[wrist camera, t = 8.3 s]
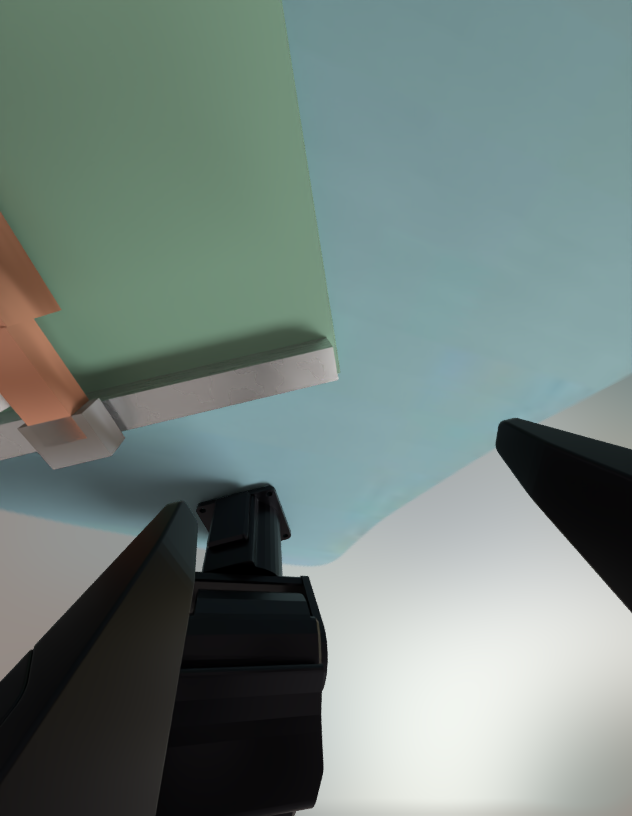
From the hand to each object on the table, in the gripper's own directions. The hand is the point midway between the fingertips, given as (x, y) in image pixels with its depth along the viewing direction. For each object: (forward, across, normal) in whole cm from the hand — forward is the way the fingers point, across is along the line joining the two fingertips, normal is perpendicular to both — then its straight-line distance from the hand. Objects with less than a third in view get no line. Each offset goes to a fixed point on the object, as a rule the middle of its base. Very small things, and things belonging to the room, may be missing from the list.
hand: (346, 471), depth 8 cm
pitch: (+12, +9, -7) cm, 17 cm away
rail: (+12, +9, 0) cm, 15 cm away
